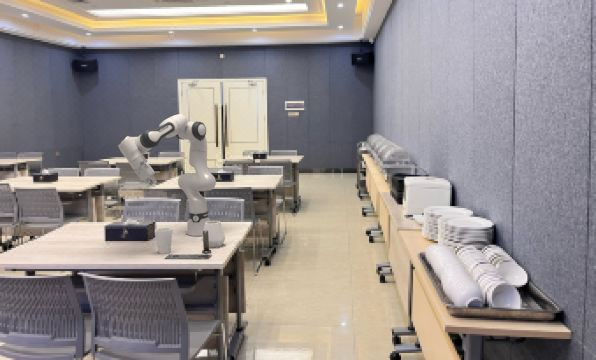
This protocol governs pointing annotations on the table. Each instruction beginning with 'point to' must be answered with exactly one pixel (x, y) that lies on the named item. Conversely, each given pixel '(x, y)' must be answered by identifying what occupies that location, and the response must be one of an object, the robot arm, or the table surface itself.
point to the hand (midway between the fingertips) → (153, 184)
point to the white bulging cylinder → (214, 233)
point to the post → (206, 243)
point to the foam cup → (164, 240)
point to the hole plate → (187, 256)
